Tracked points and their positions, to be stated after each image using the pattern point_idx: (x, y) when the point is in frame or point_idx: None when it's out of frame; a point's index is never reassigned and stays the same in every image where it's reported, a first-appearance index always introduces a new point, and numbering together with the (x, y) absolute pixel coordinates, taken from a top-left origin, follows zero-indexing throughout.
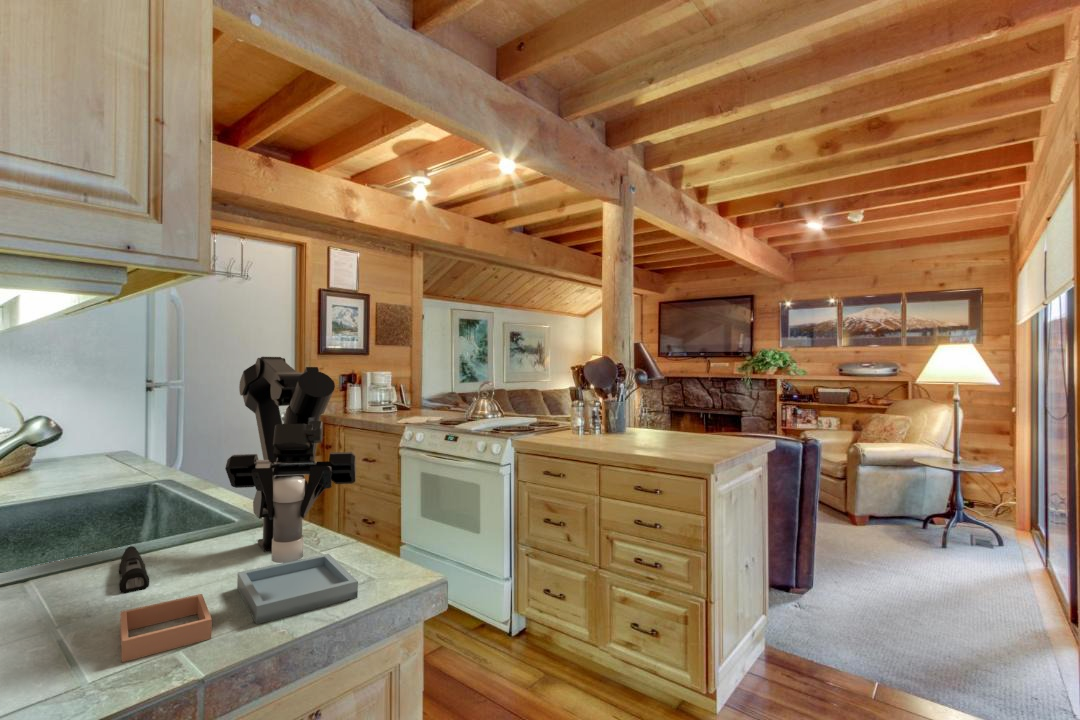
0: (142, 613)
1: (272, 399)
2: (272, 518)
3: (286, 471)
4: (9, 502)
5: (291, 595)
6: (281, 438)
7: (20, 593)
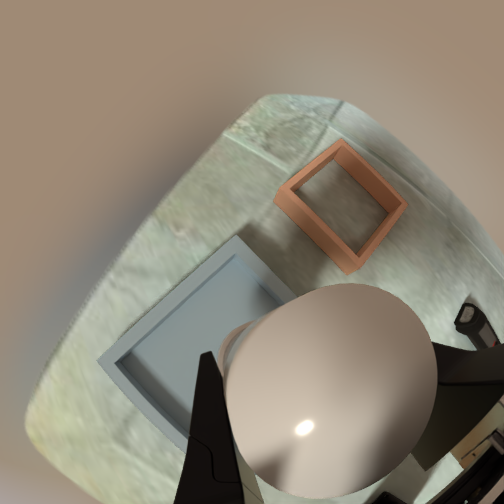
0: (390, 216)
1: None
2: None
3: (437, 500)
4: None
5: (195, 282)
6: None
7: None
